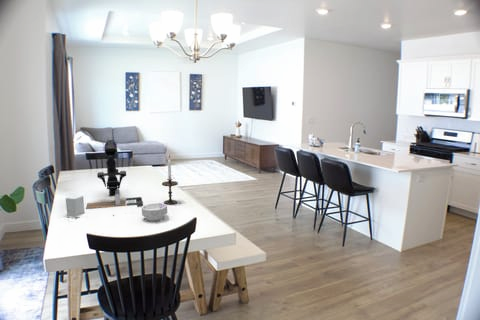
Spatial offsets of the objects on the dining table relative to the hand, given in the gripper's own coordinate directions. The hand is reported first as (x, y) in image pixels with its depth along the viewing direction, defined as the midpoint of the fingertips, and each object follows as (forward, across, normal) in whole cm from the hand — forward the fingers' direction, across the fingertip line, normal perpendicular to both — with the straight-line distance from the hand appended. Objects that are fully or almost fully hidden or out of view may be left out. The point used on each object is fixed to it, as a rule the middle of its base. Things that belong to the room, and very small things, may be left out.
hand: (112, 186), depth 252 cm
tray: (+12, +14, -8) cm, 20 cm away
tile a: (+12, +12, -6) cm, 17 cm away
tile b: (+12, +12, -12) cm, 20 cm away
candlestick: (+12, +38, -12) cm, 42 cm away
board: (+12, -4, -8) cm, 15 cm away
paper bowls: (+12, +24, -43) cm, 51 cm away
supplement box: (+12, -22, -24) cm, 35 cm away
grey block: (+10, +3, -8) cm, 14 cm away
